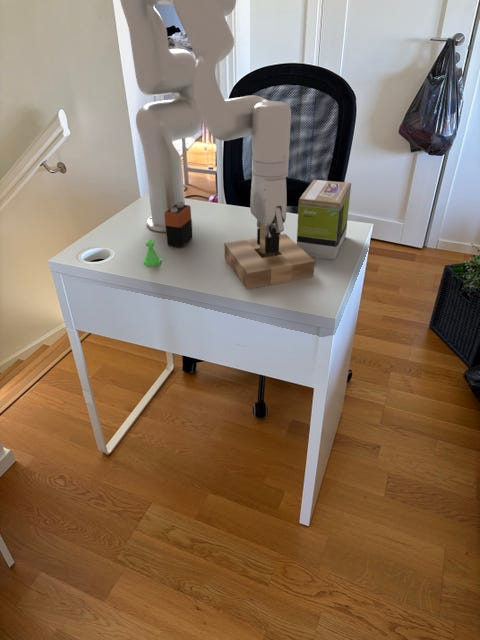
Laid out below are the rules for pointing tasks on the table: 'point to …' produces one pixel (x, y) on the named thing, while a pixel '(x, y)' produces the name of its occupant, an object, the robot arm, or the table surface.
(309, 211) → the tea box
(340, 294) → the table surface
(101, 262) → the table surface
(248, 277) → the board
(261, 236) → the peg
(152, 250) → the game piece
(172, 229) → the battery
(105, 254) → the table surface
